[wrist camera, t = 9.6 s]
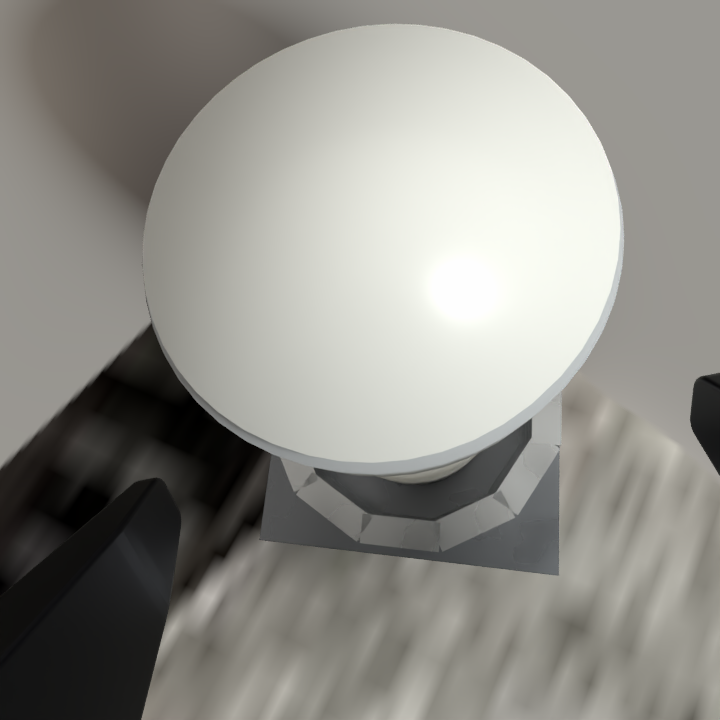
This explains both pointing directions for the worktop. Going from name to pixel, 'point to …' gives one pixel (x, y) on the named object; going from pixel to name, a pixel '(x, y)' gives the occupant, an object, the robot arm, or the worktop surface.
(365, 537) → the duct collar
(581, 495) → the worktop surface
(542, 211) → the white cylinder
